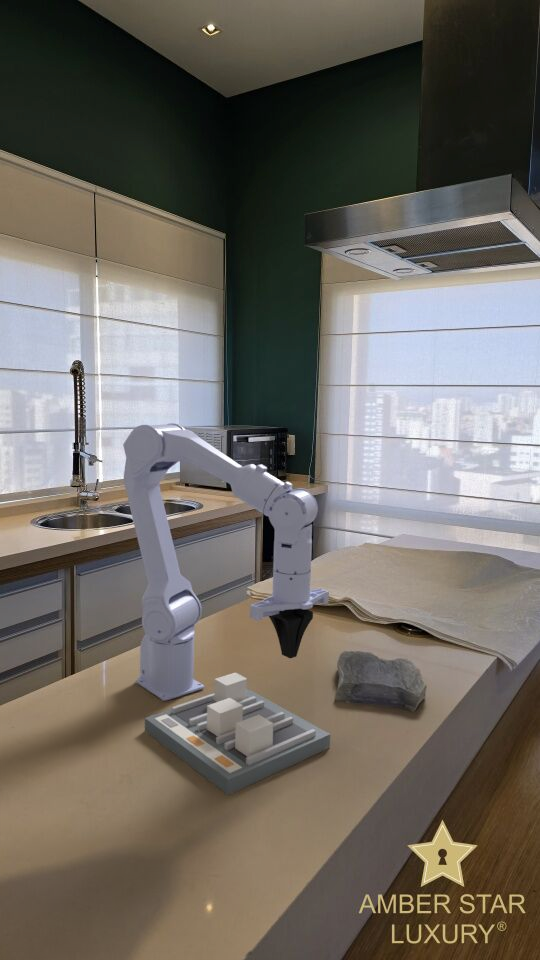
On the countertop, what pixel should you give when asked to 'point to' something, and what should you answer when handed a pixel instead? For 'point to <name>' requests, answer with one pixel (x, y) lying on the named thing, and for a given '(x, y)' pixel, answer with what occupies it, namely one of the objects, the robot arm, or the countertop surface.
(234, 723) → the tab middle
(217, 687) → the tab left
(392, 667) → the grey rock
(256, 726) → the tab right
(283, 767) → the switch panel
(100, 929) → the countertop surface
